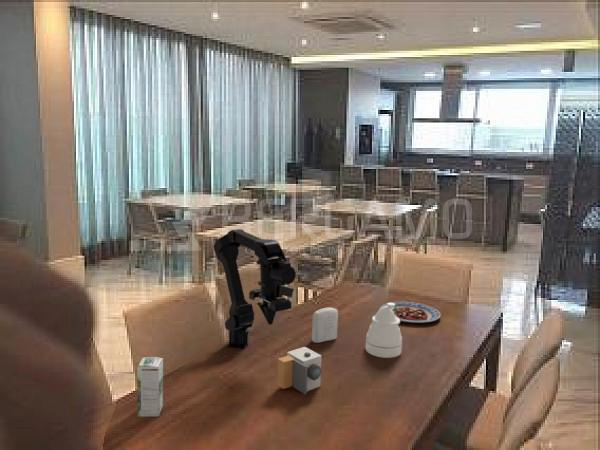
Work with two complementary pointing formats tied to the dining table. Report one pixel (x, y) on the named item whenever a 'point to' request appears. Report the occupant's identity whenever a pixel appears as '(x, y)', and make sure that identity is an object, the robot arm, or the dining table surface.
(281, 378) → the side door
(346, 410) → the dining table surface
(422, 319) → the ceramic plate
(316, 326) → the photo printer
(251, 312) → the robot arm
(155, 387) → the syrup box
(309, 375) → the block
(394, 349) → the honey pot
